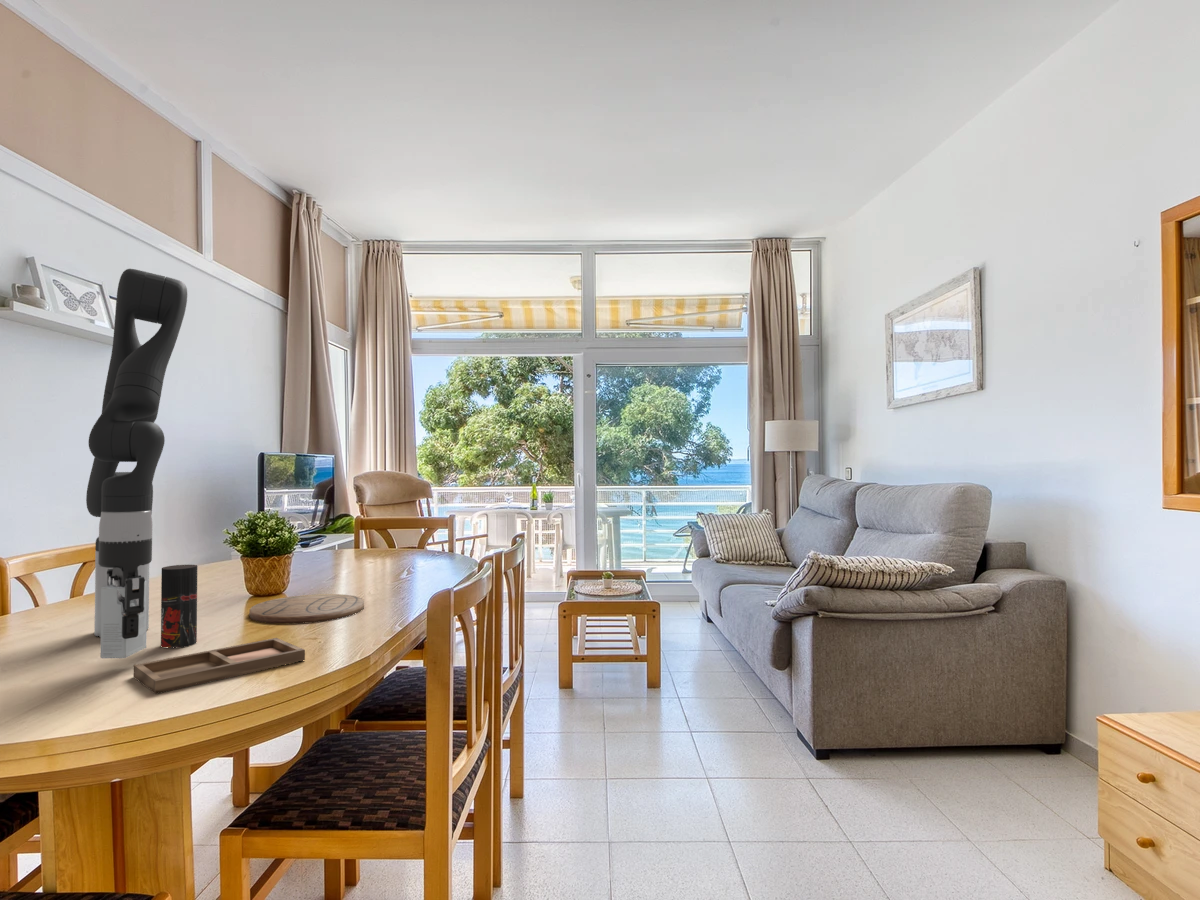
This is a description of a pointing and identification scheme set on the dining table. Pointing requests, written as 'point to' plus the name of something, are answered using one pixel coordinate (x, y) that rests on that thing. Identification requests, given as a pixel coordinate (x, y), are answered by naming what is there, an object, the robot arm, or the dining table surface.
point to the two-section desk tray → (216, 664)
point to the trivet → (306, 608)
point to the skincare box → (119, 625)
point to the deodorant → (179, 606)
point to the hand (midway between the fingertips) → (124, 633)
